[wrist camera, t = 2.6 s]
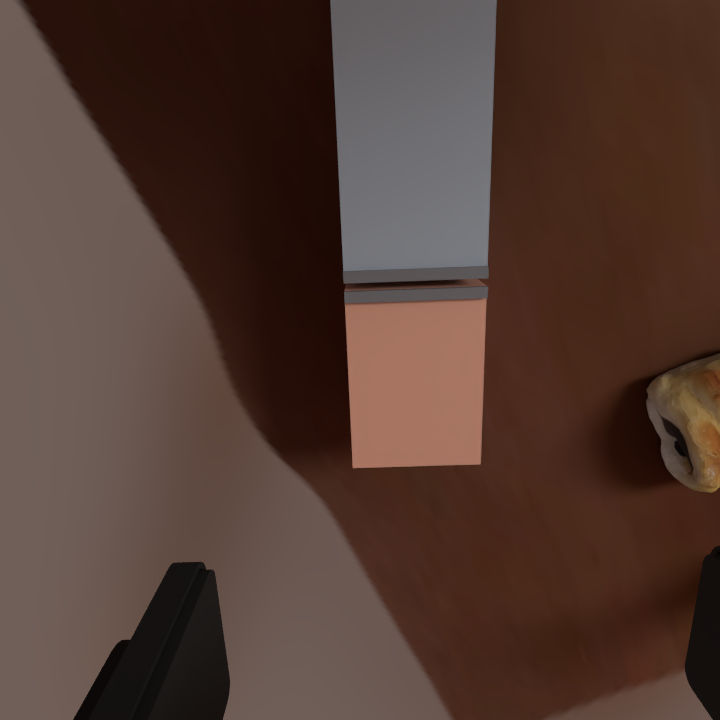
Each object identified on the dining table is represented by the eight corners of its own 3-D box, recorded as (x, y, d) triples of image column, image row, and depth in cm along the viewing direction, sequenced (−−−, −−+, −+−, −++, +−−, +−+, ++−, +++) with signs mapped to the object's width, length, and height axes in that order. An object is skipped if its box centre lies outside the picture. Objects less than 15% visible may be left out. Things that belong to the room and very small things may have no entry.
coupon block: (333, -48, 20) (321, -147, 14) (463, -55, 20) (503, -157, 14) (348, 261, 24) (342, 283, 18) (457, 257, 24) (488, 278, 18)
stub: (349, 268, 24) (344, 292, 18) (457, 264, 24) (488, 286, 18) (355, 408, 26) (352, 470, 20) (455, 405, 26) (481, 466, 20)
